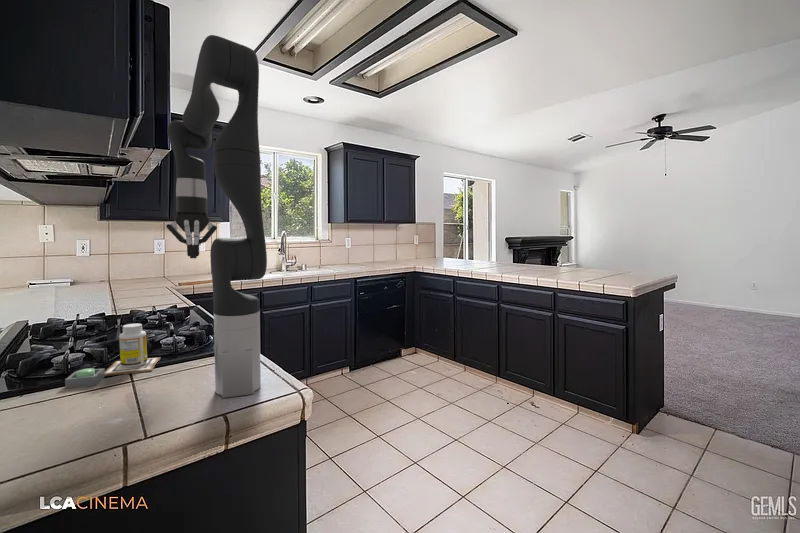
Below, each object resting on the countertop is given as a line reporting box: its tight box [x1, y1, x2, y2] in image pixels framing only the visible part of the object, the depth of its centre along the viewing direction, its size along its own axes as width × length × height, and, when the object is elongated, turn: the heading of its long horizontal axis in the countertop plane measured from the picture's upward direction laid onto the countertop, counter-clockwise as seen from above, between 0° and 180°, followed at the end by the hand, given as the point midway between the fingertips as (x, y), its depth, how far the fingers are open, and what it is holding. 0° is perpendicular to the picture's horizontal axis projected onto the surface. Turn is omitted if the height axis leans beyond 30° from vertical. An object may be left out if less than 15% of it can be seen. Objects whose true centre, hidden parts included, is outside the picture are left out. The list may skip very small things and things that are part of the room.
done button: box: [76, 367, 96, 377], centre depth 83 cm, size 3×3×2 cm
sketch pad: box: [105, 356, 162, 377], centre depth 93 cm, size 10×10×1 cm
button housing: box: [64, 368, 106, 389], centre depth 83 cm, size 5×5×2 cm
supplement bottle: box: [118, 323, 148, 368], centre depth 93 cm, size 6×6×10 cm
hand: (193, 258), depth 104 cm, fingers closed
